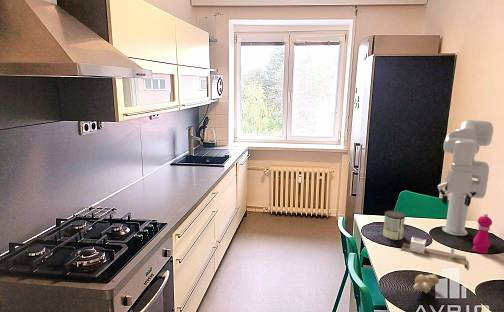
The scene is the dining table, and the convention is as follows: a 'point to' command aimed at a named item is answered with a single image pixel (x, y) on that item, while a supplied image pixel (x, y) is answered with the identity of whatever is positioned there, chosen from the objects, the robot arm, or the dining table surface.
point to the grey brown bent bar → (438, 255)
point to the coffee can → (394, 225)
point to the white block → (417, 245)
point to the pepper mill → (482, 235)
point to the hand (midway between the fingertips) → (455, 204)
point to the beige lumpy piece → (425, 282)
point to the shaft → (452, 253)
